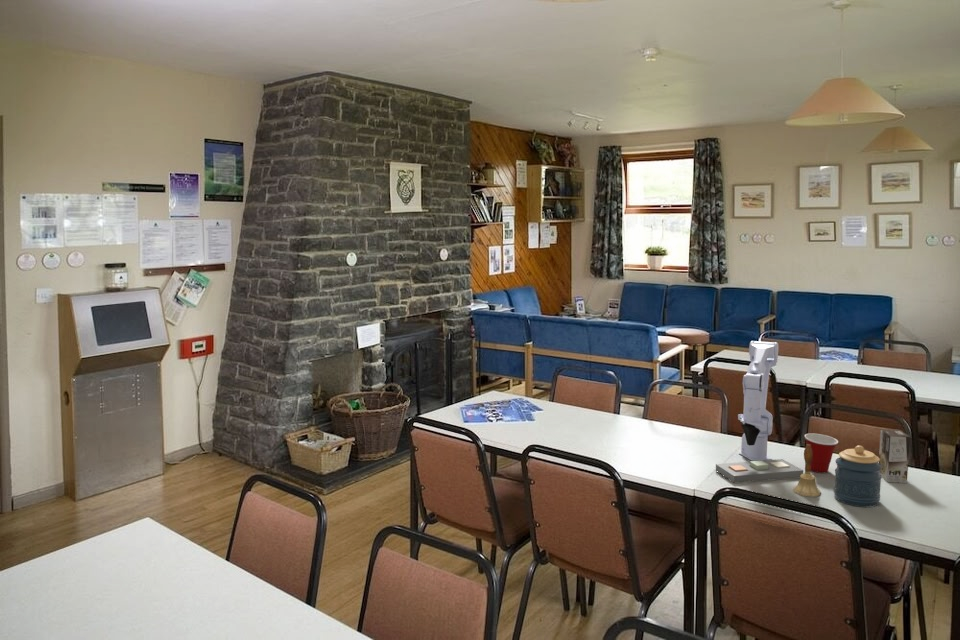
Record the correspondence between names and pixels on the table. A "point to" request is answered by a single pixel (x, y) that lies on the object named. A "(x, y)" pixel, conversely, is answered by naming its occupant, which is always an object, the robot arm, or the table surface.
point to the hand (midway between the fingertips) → (750, 444)
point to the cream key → (779, 465)
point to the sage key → (759, 465)
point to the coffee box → (894, 455)
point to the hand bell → (807, 477)
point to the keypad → (759, 472)
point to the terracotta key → (737, 468)
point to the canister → (858, 477)
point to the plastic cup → (821, 451)
